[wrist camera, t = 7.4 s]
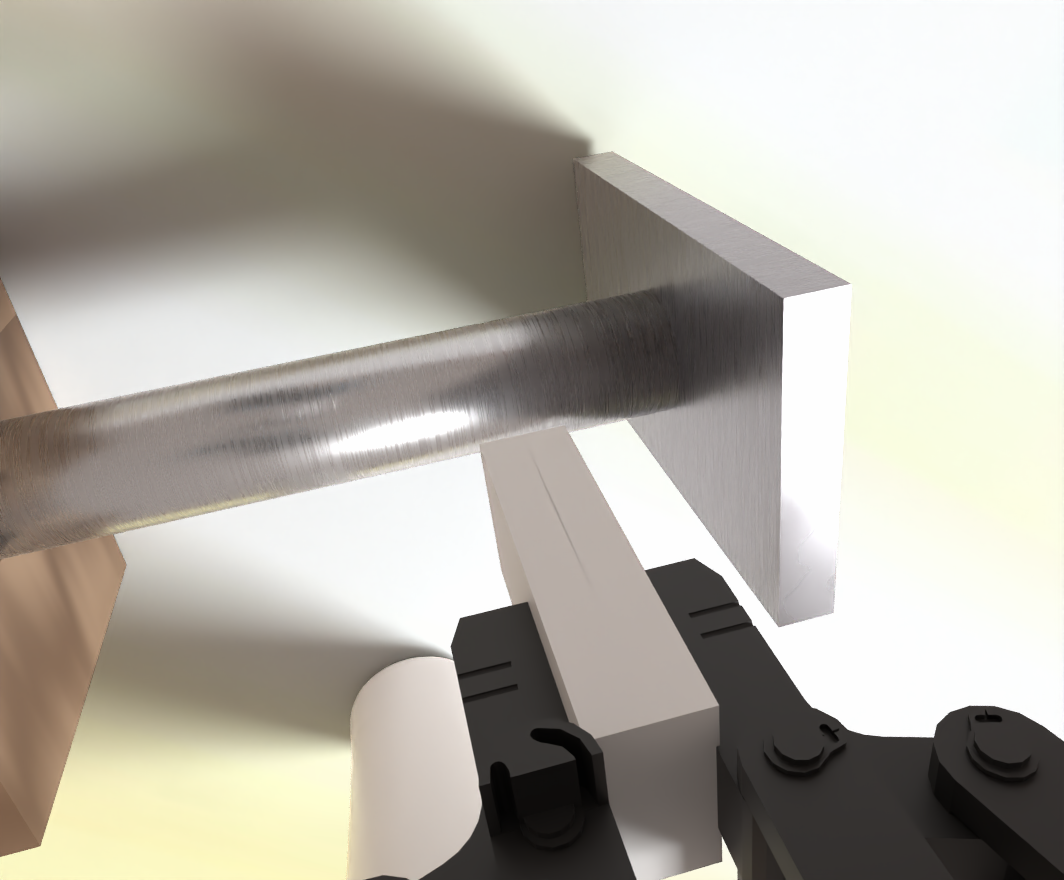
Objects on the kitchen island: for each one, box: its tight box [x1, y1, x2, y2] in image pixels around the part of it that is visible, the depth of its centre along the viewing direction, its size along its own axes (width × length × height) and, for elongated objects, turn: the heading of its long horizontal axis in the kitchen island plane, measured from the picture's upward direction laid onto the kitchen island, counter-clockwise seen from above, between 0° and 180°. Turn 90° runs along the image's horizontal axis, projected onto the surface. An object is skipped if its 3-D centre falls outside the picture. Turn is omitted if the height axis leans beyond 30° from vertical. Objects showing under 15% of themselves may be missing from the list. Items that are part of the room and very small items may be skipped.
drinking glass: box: [346, 656, 482, 880], centre depth 28 cm, size 7×7×15 cm
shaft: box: [0, 152, 852, 627], centre depth 20 cm, size 7×24×13 cm, turn 97°
